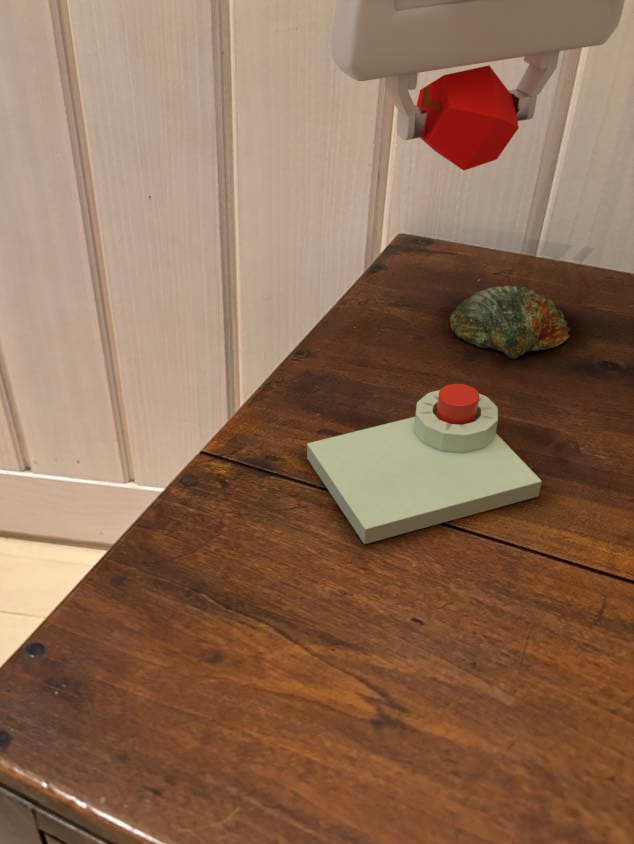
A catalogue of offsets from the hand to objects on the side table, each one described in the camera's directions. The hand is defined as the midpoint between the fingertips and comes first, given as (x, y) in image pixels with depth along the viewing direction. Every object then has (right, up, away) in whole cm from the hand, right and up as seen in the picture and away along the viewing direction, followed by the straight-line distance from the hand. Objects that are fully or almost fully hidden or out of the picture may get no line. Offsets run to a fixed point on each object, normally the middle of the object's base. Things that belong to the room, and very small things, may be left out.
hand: (465, 127), depth 67 cm
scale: (-4, -25, -1) cm, 26 cm away
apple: (0, -2, +2) cm, 2 cm away
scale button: (-1, -21, -1) cm, 21 cm away
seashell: (+7, -12, +13) cm, 19 cm away
